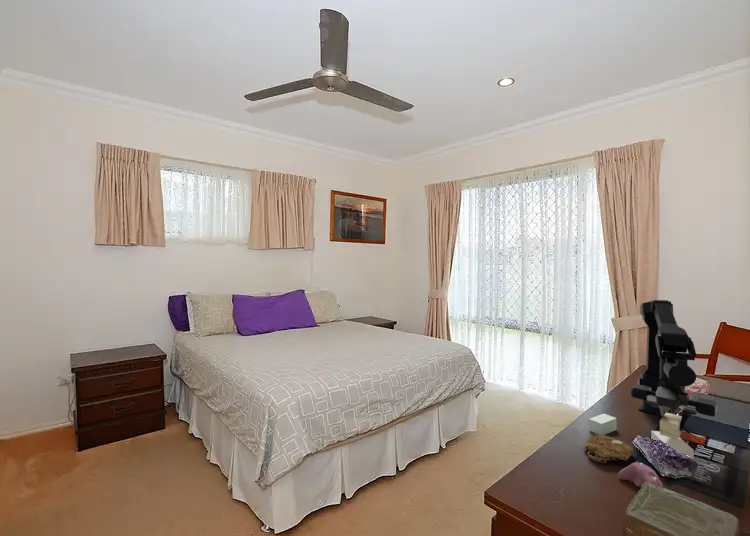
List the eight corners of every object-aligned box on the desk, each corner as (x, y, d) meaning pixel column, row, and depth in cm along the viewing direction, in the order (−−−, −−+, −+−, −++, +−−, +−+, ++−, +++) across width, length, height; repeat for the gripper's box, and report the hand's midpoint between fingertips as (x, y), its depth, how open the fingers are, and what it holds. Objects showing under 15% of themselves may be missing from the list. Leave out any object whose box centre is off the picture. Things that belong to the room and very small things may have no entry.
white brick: (651, 440, 110) (651, 430, 110) (674, 442, 108) (674, 432, 108) (667, 457, 101) (667, 447, 100) (693, 460, 99) (693, 450, 99)
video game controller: (655, 511, 81) (671, 486, 80) (635, 500, 82) (651, 475, 81) (632, 484, 91) (647, 461, 90) (615, 474, 92) (629, 451, 91)
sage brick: (603, 425, 120) (603, 413, 119) (616, 430, 116) (616, 418, 116) (588, 430, 116) (589, 418, 116) (601, 436, 112) (601, 423, 112)
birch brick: (665, 425, 109) (665, 412, 108) (683, 430, 106) (683, 416, 105) (659, 434, 103) (659, 420, 103) (677, 439, 100) (677, 425, 100)
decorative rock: (626, 477, 92) (636, 455, 103) (628, 462, 92) (637, 441, 103) (577, 458, 100) (590, 439, 111) (578, 443, 100) (592, 426, 111)
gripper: (626, 373, 106) (625, 425, 106) (712, 391, 91) (711, 451, 92) (636, 365, 113) (635, 414, 113) (718, 380, 99) (716, 436, 99)
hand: (671, 428), depth 104 cm, fingers closed on birch brick, 4 cm apart
